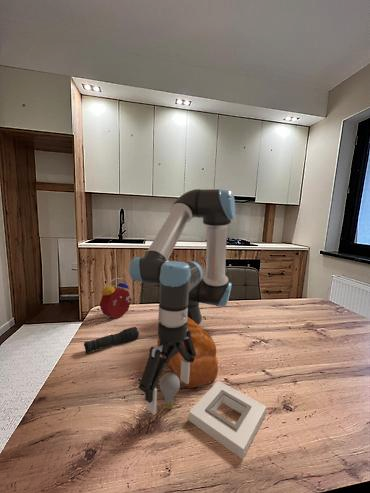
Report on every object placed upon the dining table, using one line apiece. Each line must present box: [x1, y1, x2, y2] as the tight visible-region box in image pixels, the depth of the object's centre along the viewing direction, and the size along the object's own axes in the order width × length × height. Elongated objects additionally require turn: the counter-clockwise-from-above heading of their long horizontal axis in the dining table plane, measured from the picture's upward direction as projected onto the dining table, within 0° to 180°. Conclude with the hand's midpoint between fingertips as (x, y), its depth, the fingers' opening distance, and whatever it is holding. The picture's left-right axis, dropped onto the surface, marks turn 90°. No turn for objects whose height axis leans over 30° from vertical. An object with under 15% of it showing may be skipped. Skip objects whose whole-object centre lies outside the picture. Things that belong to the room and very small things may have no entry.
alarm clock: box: [99, 277, 132, 320], centre depth 115 cm, size 15×9×20 cm, turn 144°
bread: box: [157, 316, 219, 389], centre depth 83 cm, size 14×26×16 cm, turn 28°
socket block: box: [188, 380, 267, 460], centre depth 62 cm, size 15×15×3 cm
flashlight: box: [83, 326, 140, 355], centre depth 92 cm, size 5×21×5 cm, turn 129°
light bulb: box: [159, 372, 181, 410], centre depth 63 cm, size 6×5×10 cm
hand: (169, 394), depth 63 cm, fingers open, 13 cm apart
